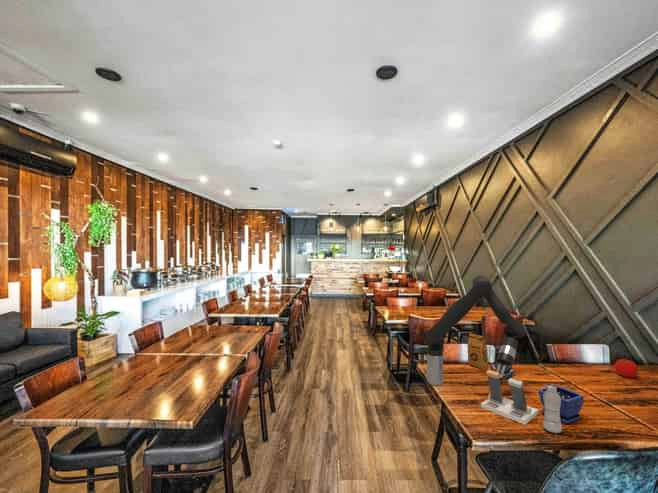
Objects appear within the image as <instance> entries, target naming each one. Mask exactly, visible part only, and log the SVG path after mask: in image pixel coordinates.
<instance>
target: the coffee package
mask: <svg viewBox="0 0 658 493" xmlns="http://www.w3.org/2000/svg"><path fill="white" fill-rule="evenodd" d="M466 346H467V364H468V365H470V366H472V367H475V368H477V369H481V370H486V369H488V368H489V356H488V347H487V342H486V339H485V336H484V335H483V336H482V335H478V334H476V333H469V334H468V341H467V345H466Z"/></svg>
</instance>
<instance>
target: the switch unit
mask: <svg viewBox="0 0 658 493" xmlns="http://www.w3.org/2000/svg"><path fill="white" fill-rule="evenodd" d="M480 408H482V409H484V410H486V411H489V412H492V413H495V414H497V415H499V416H502V417H505V418H507V419H510V420H511V419H512V421H514V420H515V421H514V422H516V421H517V422H516V423H519V424H521V423H522V425H523V426H526V425H527V424H528V423H529V422H530V421H531V420H533V419H534V418H535V417H536V416H537V415H539V409H537V408H534V407H531V406H529V405H527V412H524V411H521V410H518V409H516V408H515V407H514V403H513V399H510V398H507V397H503V399H502V403H500V402H497V401H494V400H492V399H491V393H488V397H487V399H485V400H484V401H482V402H481V403H480Z"/></svg>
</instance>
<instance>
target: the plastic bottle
mask: <svg viewBox="0 0 658 493" xmlns="http://www.w3.org/2000/svg"><path fill="white" fill-rule="evenodd" d="M556 386H557V385H556V384H553V383H546V384H545V387H546V389H547V390H546V391H545V392H544V393H543V400H544V406H543V408H544V407H545V414H544V417H543V427H544V429H545V430H546V431H547V432H550V433H552V434H560V433H562V431H563V430H562V429H563V427H562V422H561V421H560V404H561V398H560V396H559V394H560V393H559V392H558V393H559V394H558V393H557V392H556V391H557V387H556Z"/></svg>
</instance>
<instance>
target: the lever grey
mask: <svg viewBox="0 0 658 493" xmlns="http://www.w3.org/2000/svg"><path fill="white" fill-rule="evenodd" d="M507 382H508V386H509V388H510V389H509V390H510V393H511V398H512V401H513V403H514V407H515V408H516V409H518V410H521V411H524V412H527V406H528V404H527V400H526V396H525V391H524V387H523V386H524V382H523V381H521V380H517V379H515V378H510V379H508V380H507Z"/></svg>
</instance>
